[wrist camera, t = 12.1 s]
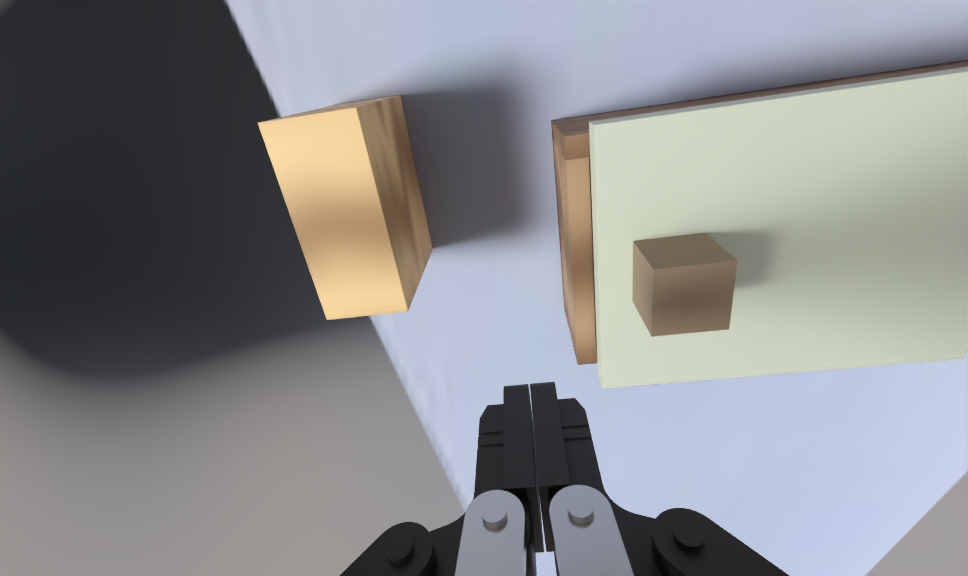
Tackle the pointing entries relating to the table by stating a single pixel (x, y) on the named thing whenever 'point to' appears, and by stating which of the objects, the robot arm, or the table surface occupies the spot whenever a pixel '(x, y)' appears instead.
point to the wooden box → (577, 197)
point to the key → (354, 203)
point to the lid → (783, 232)
